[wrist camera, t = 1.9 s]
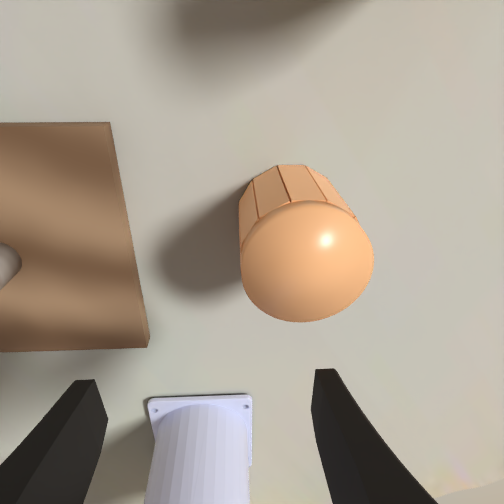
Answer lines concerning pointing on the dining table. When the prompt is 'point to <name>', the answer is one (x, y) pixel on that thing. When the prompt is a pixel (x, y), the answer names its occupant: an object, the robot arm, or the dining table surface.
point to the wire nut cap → (300, 246)
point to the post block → (65, 242)
